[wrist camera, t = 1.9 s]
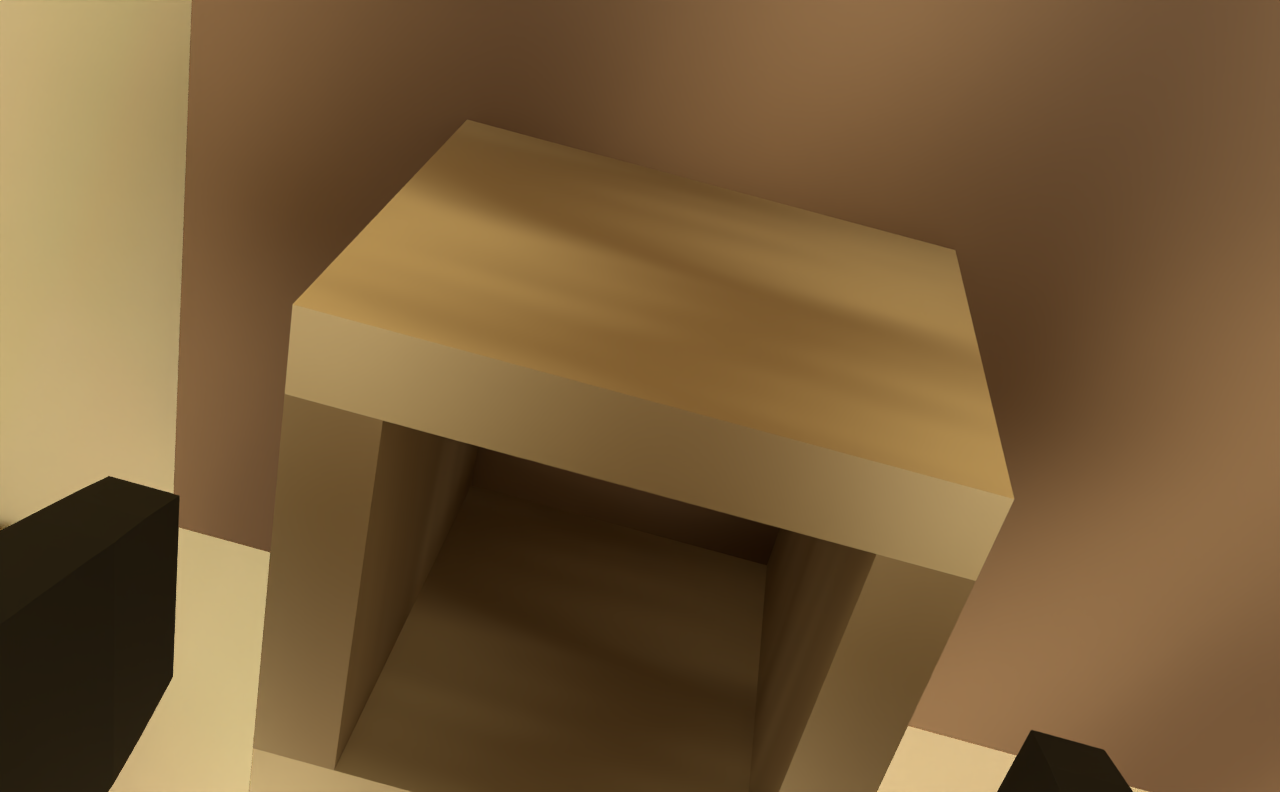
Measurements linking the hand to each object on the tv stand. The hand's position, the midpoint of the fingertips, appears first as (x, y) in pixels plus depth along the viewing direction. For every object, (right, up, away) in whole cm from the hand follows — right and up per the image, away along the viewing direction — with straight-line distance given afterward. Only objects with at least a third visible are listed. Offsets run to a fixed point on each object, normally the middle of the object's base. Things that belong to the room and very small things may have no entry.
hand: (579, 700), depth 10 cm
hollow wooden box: (+1, +3, +5) cm, 5 cm away
